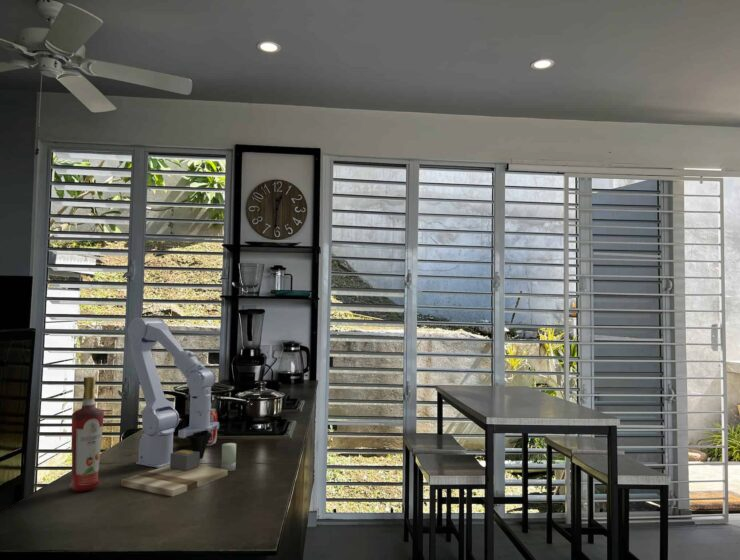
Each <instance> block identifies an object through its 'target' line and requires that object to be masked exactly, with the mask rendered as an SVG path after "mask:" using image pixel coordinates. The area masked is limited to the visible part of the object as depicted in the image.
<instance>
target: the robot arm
mask: <svg viewBox="0 0 740 560" xmlns="http://www.w3.org/2000/svg"><path fill="white" fill-rule="evenodd" d="M126 331H127V334H128V338H129V341H130V343H129V345H130V346H129V349H130V354H131V357H132V360H133V364H134V367H135V371H136V374H137V378H138V381H139V384H140V388H141V391H142V394H143V398H144V400H145V402H144V403H145V406H144V408H143V409H142V410H141V412H140V413H141V418H142V420H141V421H142V422H141V425H142V430H143V431H144V432H145V433H143V434H142V435H141V437H140V439H139V442H138V443H139V445H138V461H136V463H135V464H136V465H142V466H147V467H153V468H156V469H158V468H161V467H165V466H168V465H170V455H171V453H173V452H174V451H173V448H174V432H176V431H175V430H176V428H177V426H178V425H179V423H180V414H179V412H178V410H176V409H175V407H174V404H173V402H172V401H170V400H168V399H167V398H166V397H165V394H164V389H163V387H162V383H161V380H160V376H159V374H158V370H157V367H156V364H155V360H154V357H153V354H152V349H153V347H154V346H155V345H156V344H157V343H159V344H160V345H161V346H162V347H163V348H164V349H165V350H166V351H167V352H168V353H169V354H170V355H171V356H172V357H173V358H174V359H173V364H174V365H175V367H176V368H177V369H178V370H179V371H180V372H181V373H182V375H184V377H185V378H186V379H185V382H186V386H187V387H188V388H187V389H189V390H188V391H189V392H188V393H189V396H190V397H189V422H188V423H189V424H188V426H186V427H184V428H182V429H178V435H177V436H178V438H181V439H185V438H186V439H187V440H188V442H189V444H190V446H191V451H197V452H200V460H202V459H204V455H205V451H206V448H207V447H208V446H207V443H208V441H209V439H210V438H211V436H212V433H211V432H208V431H209V430H213V429H217V430H219V429H220V422H219V421H217V422H210V408H211V402H212V401H211V400H212V399H211V398H212V387H213V386H214V385H215V383H216V374H215V372H214V370H213V369H212V368H209V367H208V368H207V367H205V366H204V364H203V363H201V362H200V361H199V359H197V357H196V356H195V353H194V352H193V351H190V350H184V349H183V346H181V344H180V343H179V342H178V340H177V339H176V338H175V337H174V335H173V334H172V332H171V331H170V329H169V325H168V324H167V323H166V322H165V320H164V319H163V318H162V317H161V318H160V317H155V318H154V317H150V318H149V317H147V318H146V317H135V318H133V319H132V320H131V321H130V323H129V325H128V327H127V329H126Z"/></svg>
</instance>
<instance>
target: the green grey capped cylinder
mask: <svg viewBox="0 0 740 560" xmlns="http://www.w3.org/2000/svg"><path fill="white" fill-rule="evenodd" d="M236 461H237V443H235V442H227V443H222V444H221V464H220V465H221V467H220V469H225V470H228V472H232V471H235V470H236V469H237V468H236V467H237V466H236V464H237V462H236Z"/></svg>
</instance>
